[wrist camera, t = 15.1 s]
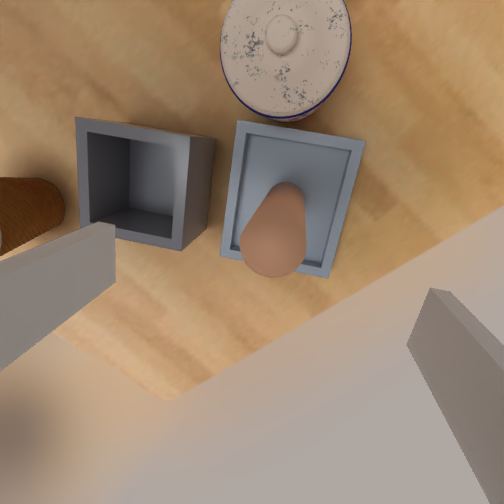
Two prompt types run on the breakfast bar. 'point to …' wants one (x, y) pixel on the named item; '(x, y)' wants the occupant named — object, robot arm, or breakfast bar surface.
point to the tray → (299, 173)
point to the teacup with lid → (285, 54)
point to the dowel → (276, 233)
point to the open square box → (144, 181)
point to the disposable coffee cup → (27, 210)
